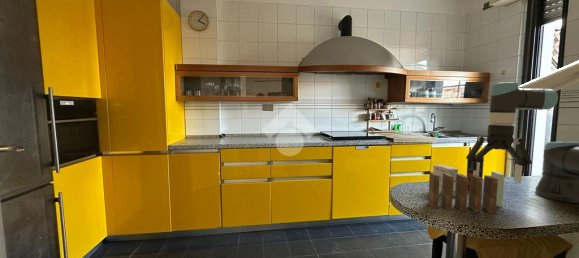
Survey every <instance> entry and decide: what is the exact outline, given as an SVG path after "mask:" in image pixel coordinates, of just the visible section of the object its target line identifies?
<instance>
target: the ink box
mask: <svg viewBox="0 0 579 258" xmlns="http://www.w3.org/2000/svg"><path fill="white" fill-rule="evenodd" d="M432 168H433V170H432V172H435V173H437V174H438V175H439V176H440V179H439V195H441V196H442V183H443V173H449V174H450V175H452V176H454V181H453V198H455V191H456V174H459V169H458V168H456V167H452V166H449V165H448V166H447V165H444V164H434V165H433V167H432Z"/></svg>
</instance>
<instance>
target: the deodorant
mask: <svg viewBox="0 0 579 258" xmlns="http://www.w3.org/2000/svg"><path fill="white" fill-rule="evenodd" d="M484 158H485V156H483V157H482V158H481V159H480V160H479V161H478V162H479V163H480V167H479V177H481V178H483V179H484V175H483V174H484V161H485V159H484ZM466 160H467V162H466V163H467V164H466V175H465V176H466V177H468V188H467V190H469V187H470V174H471V175H473V170H471V163H472V162H471V161H470V160H468V159H466Z"/></svg>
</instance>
